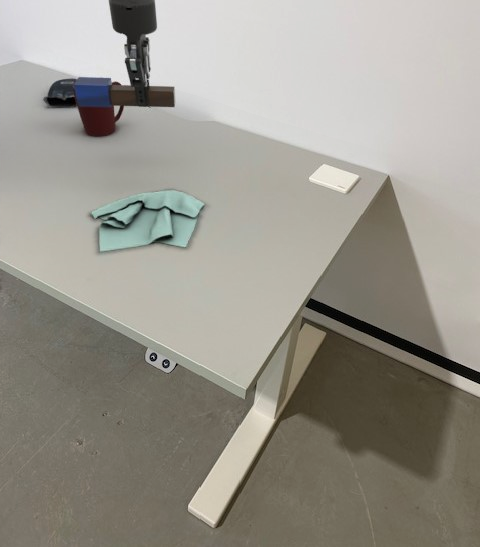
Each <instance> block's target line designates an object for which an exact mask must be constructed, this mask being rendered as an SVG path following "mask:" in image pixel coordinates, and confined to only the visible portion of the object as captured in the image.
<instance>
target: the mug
mask: <svg viewBox="0 0 480 547" xmlns="http://www.w3.org/2000/svg"><path fill="white" fill-rule="evenodd" d="M75 82H76V81H75ZM75 82H74V83H73V84H72V89H73V93H74V97H75V100H76V107H77V111H78V114H79V116H80V121H81V123H82V126H83V129H84V132H85V134H87V135H88V136H91V137H106V136H109V135H111V134H113V133H114V132H116V123H117V122H118V121H119V120H120V118H121V117H122V114H123V112H124V109H125V106H119V108H118V111H117V114H115V106H112V105H111V107H80V106H78V101H77V97H76V93H75V88H74V84H75ZM111 82H112V85H122V84H121V83H120V82H119V81H111Z"/></svg>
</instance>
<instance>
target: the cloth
mask: <svg viewBox="0 0 480 547" xmlns="http://www.w3.org/2000/svg"><path fill="white" fill-rule="evenodd" d="M205 205H206V204H205V203H204V202H203V201H201V200H199V199H197V197H194V196H192V195H190V194H188V193H185V192H182V191H178V190H176V189H167V190H159V191H156V192H155V191H152V192H142V193H138V194H132V195H130V196H128V197H126V198H121V199H118V200H116V201H114V202H110V203H107V204H104V205H102V206H101V207H100V208H97V209H95V210H93V211H91V215H92V217H93V218H94V219H95V220H96V219H97V218H99V219H101V220H103V221H102V222H101V223H100V224H99V231H98V232H99V238H98V239H99V242H98V243H99V252H100V253H103V252H109V251H115V250H124V249H131V248H136V247H137V248H139V247H143V246H149V245H151V244H152V243H153V242H155V243H161V244H166V245H170V246H174V247H175V246H176V247H179V248H183V249H184V248H187V246H188V243H189V242H190V239H191V237H192V234H193V232H194V230H195V227H196V225H197V221H198V220H199V219H198V218H199V213H200V210H201V209H202V208H203V207H204V206H205Z"/></svg>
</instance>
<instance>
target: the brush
mask: <svg viewBox="0 0 480 547" xmlns="http://www.w3.org/2000/svg"><path fill="white" fill-rule="evenodd" d="M76 79H77V81H76V82H75V84H74V88H75V93H76V97H77V101H78V106H80V107H111V105H112V106H114V107H120V106H124V107H138V106H137V103H136V95H135V88H134V87H131V85H130V84H129V85H128V84H121V85H112V82H113V81H112V78H111V77H96V76H95V77H93V76H92V77H90V76H89V77H88V76H78V77H77V78H76ZM147 92H148V101H149V104H148V106H147V107H146V108H148V107H149V108H175V107H176V88H175V86H166V85H165V86H164V85H149V86H147Z"/></svg>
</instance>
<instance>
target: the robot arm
mask: <svg viewBox="0 0 480 547" xmlns="http://www.w3.org/2000/svg"><path fill="white" fill-rule="evenodd" d="M108 5H109V6H108V7H109V13H110V18H111V19H110V20H111V26H112V29H113V31H114V32H116V33H117V34H120V35H124V36H125V37H126V43H124V45H123V46H124V48H123V49H124V55H125V56H126V57H125V58H124V64H125V67H126V71H127V75H128V79H129V85H131V87H134V88H135V95H136V103H137V106H136V107H139V108H148V107H147V106H148V104H149V101H148V92H147V86H150V77H151V74H150V73H151V69H152V68H151V54H150V51H151V50H150V49H151V42H150V39H149V38H150V37H149V36H148V37H147V36H146V35H150V34H153V33H155V32H156V31H157V30H158V20H157V19H158V18H157V9H156V8H157V7H156V0H108Z"/></svg>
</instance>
